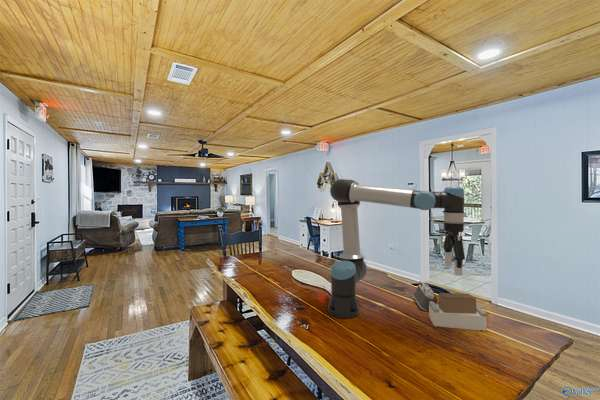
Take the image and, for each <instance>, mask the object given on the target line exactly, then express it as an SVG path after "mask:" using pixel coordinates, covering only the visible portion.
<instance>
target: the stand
mask: <svg viewBox="0 0 600 400" xmlns="http://www.w3.org/2000/svg"><path fill="white" fill-rule="evenodd" d="M428 315H429V316H428V318H429V319H430V321H431V323H432V326H434V327H438V326H439V328H451V329H459V330H461V329H462V330H469V331H470V330H471V331H472V330H473V331H480V330H483V331H482V332H487V330H488V313H487V312H486V311H485V310H483V308H482V307H480V305H478V304H476V313H444V312H443V311H442V310H441V309H440V308H439V307H438V304H437V303H436V304H435V303H434V302H431V301H429V308H428Z"/></svg>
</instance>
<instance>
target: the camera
mask: <svg viewBox="0 0 600 400" xmlns="http://www.w3.org/2000/svg"><path fill="white" fill-rule="evenodd" d="M412 296H413V298H414V300H415V302H416V303H417V305H418V307H419V308H420V309H421V310H422V311H426V312H427V311H429V301H431V302H434V303H435V304H436V305H437V302H438V295H435V293H434V291H433V289H432V288H431V287H430V286H429V285H428V284H426V283H424V282H421V283H420V284H418V286H417V288H416V289H415V292H414V294H413V295H412Z"/></svg>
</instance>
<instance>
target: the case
mask: <svg viewBox="0 0 600 400" xmlns="http://www.w3.org/2000/svg"><path fill="white" fill-rule="evenodd" d="M437 302H438V304H437V305H438V307H439V308H440V309H441V310H442V311H443V312H444V313H476V305H477V299H476V297H474V296H473V295H471V294H470V293H460V292H459V293H458V292H457V293H453V292H452V293H451V292H450V293H449V292H439V293H438V295H437Z"/></svg>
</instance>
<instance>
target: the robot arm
mask: <svg viewBox="0 0 600 400" xmlns="http://www.w3.org/2000/svg"><path fill="white" fill-rule="evenodd" d="M329 188H330V189H329V192H330V196H331V197H332V199H333V200H335V201H336V202H337V207H339V208H340V212H341V213H340V215H341V216H340V217H341V230H342V246H343V247H342V248H343V254H342V255H341V256H340V257H341V258H340V259H341V260H340V261H335V262H334V263H333V264H332V265H331V269H330V279H331V281H330V282H331V284H330V287H331V289H330V290H331V295H330V299H329V302H328V304H327V312H328V313H329V315H331V316H333V317H336V318H340V319H352V318H355V317H358V316H359V315H360V306H359V302H358V299H357V297H356V289H357V288H356V284H358V283H359V282H360V281H362V280H363V279H364V278H365V276H366V274H367V270H368V266H367V263H366V262H365V261H364V260H365V259H364V255H363V254H362V253H361V245H360V244H361V243H360V228H359V215H358V213H359V212H358V208H359V206H361V202H365V203H371V204H372V203H374V204H378V205H379V204H381V205H389V206H395V207H397V206H398V207H402V208H409V209H410V208H411V209H417V210H421V211H429V210H432V209H443V221H444V223H443V230H444V231H445V237H444V241H443V247H442V249H443V250H444V267H450V268H451V267H452V265H453V264H452V262H453V261H452V260H454V267H453V268H454V269H453V270H454V272H453V273H454V276H459V277H460V276H463V260H466V258H465V257H466V256H465V251H464V250H465V249H464V243H463V236H462V235H460V233H462V232H463V233H464V227H465V226H464V225H465V224H464V221H465V220H464V219H465V216H466V215H465V189H464V188H463V187H461V186H450V187H449V186H446V187H444V190H442V191H426V190H413V189H406V188H405V189H404V188H394V187H385V186H375V185H374V186H373V185H366V184H365V185H364V184H359V182H357V181H356V180H353V179H345V178H339V179H336V180H335V181H333V182H332V184H331V185H330V187H329ZM452 249H453V250H452ZM452 253H454V257H453V256H452V255H453V254H452ZM452 257H453V259H452Z"/></svg>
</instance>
